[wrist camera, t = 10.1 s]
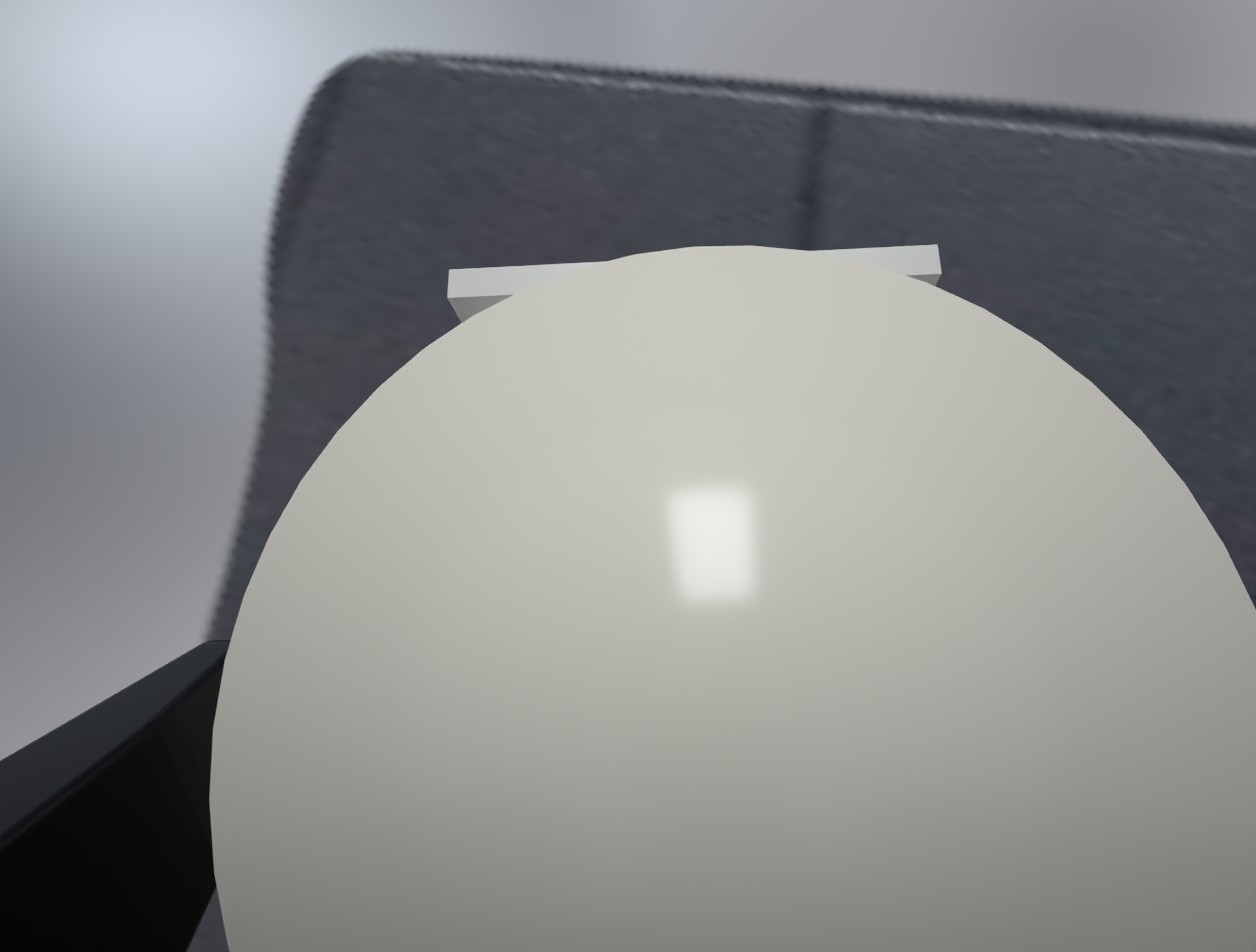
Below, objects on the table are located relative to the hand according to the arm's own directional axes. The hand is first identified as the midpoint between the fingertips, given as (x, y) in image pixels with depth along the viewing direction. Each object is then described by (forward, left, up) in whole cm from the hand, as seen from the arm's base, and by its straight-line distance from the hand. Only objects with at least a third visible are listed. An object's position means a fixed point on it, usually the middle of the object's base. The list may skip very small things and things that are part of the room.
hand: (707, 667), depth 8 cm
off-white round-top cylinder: (0, 0, -9) cm, 9 cm away
